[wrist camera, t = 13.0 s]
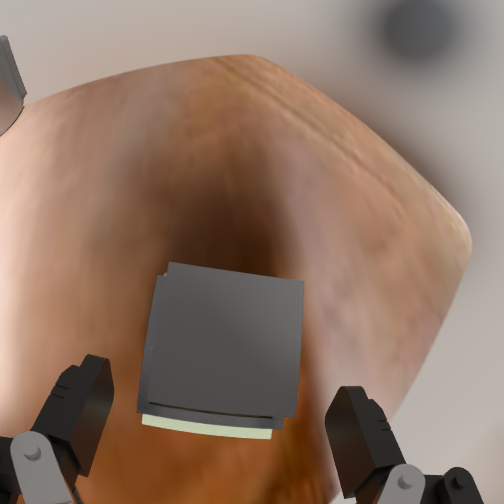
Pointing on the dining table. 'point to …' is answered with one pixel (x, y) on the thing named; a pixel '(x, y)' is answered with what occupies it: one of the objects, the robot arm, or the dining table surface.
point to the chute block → (228, 342)
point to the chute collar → (181, 412)
